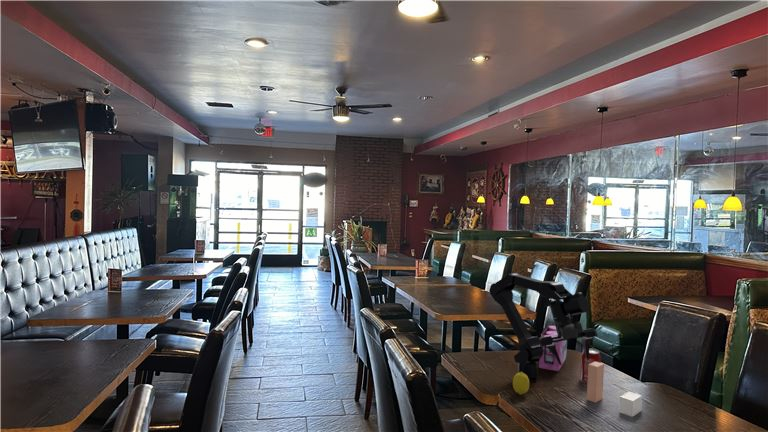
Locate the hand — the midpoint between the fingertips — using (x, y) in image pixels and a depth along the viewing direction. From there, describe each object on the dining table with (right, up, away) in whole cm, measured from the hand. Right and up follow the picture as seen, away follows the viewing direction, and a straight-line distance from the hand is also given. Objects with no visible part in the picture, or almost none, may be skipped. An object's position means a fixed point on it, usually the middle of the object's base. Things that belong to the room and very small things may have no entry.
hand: (574, 362), depth 163 cm
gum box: (+6, -11, +36) cm, 38 cm away
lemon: (-19, -11, 0) cm, 22 cm away
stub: (+6, -11, -3) cm, 13 cm away
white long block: (+9, -12, -7) cm, 16 cm away
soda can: (+11, -12, +14) cm, 21 cm away
